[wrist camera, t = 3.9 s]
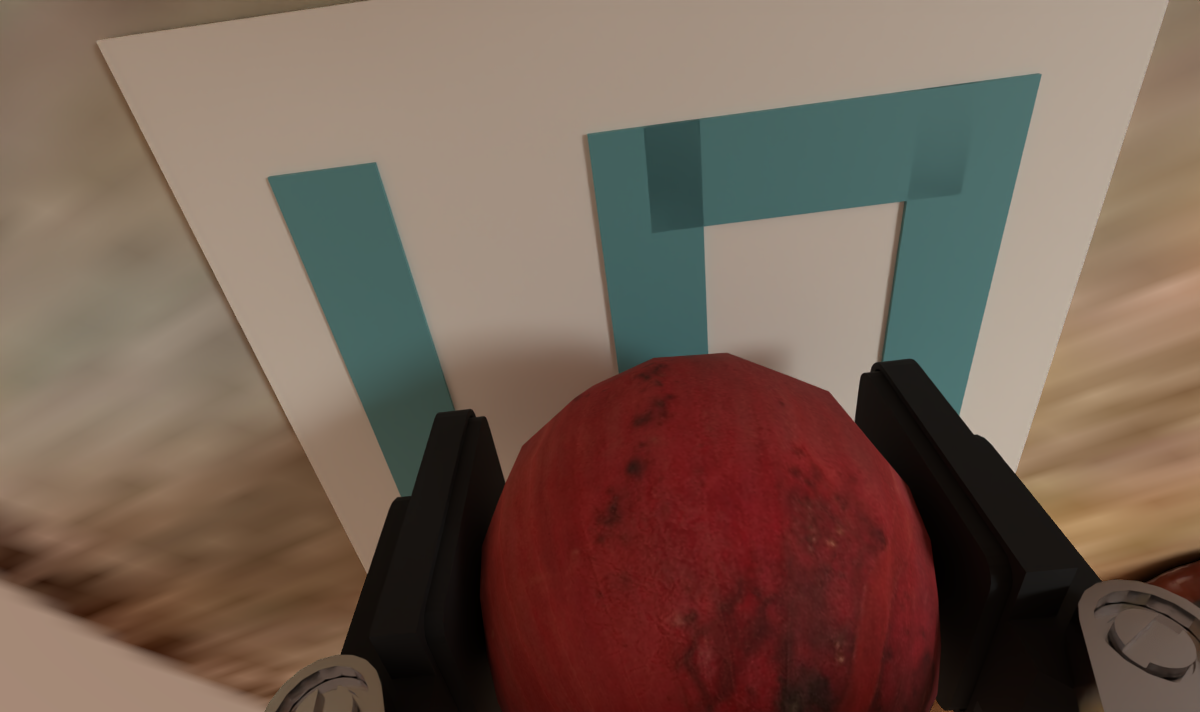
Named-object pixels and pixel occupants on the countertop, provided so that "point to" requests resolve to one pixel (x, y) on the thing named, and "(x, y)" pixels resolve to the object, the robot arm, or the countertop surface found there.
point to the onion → (708, 554)
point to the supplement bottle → (1181, 581)
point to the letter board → (634, 200)
